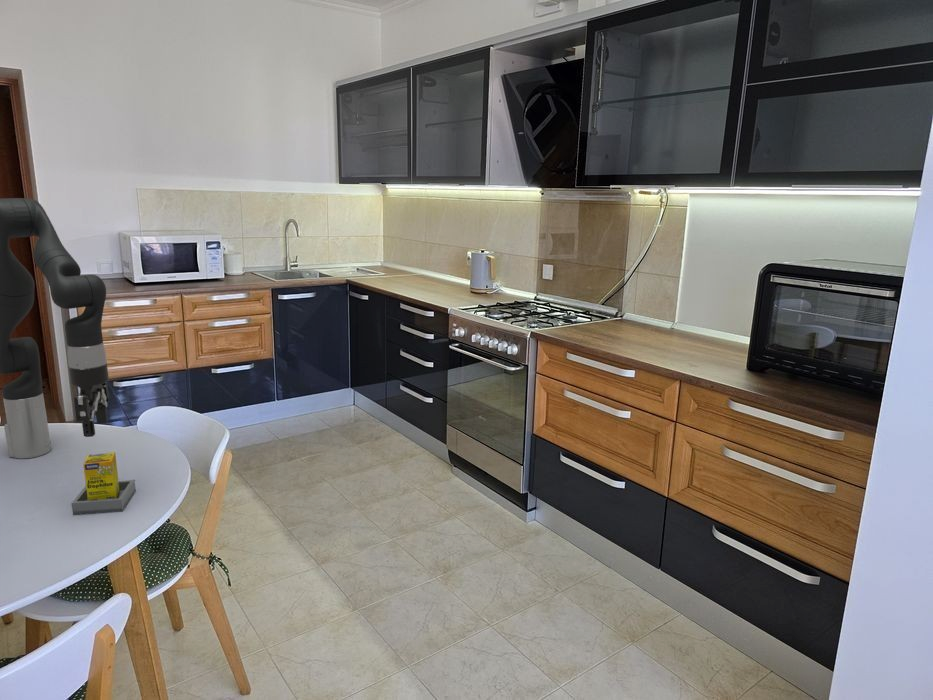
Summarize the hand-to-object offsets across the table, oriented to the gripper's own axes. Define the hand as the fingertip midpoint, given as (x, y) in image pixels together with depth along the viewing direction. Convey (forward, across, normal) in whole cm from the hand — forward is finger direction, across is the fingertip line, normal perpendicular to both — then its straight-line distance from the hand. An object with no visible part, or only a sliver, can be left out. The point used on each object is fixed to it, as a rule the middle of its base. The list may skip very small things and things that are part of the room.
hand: (96, 429), depth 149 cm
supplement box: (+18, 0, 0) cm, 18 cm away
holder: (+19, 0, 0) cm, 19 cm away
